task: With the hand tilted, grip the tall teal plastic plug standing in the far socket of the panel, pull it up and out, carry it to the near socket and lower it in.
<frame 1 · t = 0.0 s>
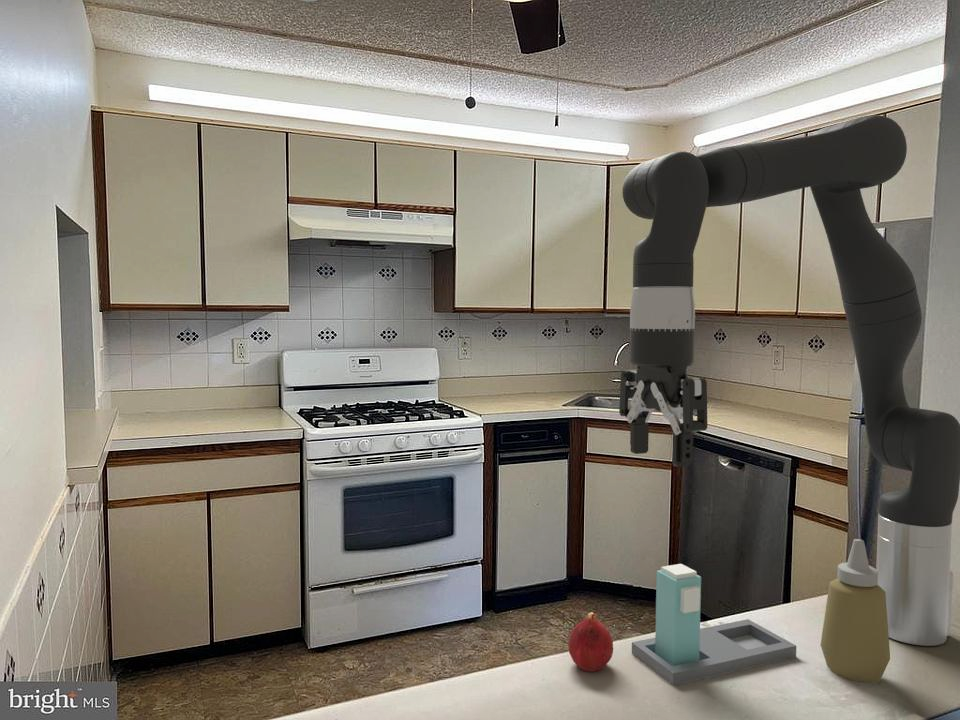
hand: (659, 459, 87), 29 cm above the worktop, tool pointing down, fingers open, 8 cm apart
plug: (676, 662, 95), point 1 cm above the worktop, touching panel
panel: (713, 661, 97), on the worktop
squeeze bottle: (853, 678, 93), on the worktop
onion: (590, 674, 94), on the worktop
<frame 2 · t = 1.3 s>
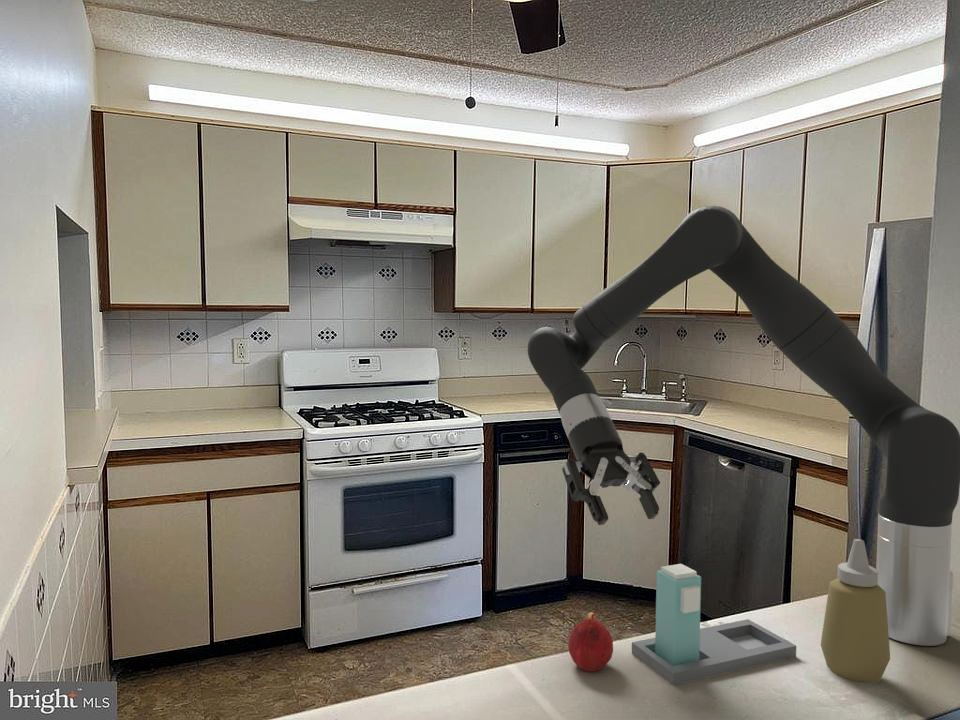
hand: (629, 519, 104), 17 cm above the worktop, tool tilted 45°, fingers open, 8 cm apart
nothing on the worktop moved.
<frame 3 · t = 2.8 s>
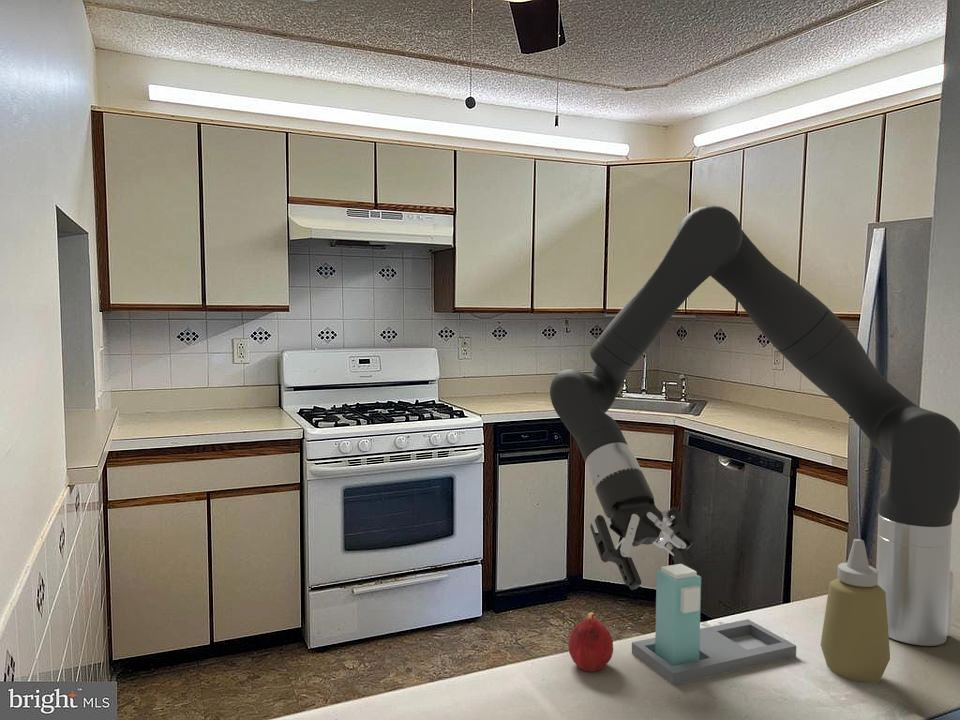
hand: (663, 582, 97), 11 cm above the worktop, tool tilted 45°, fingers open, 8 cm apart
nothing on the worktop moved.
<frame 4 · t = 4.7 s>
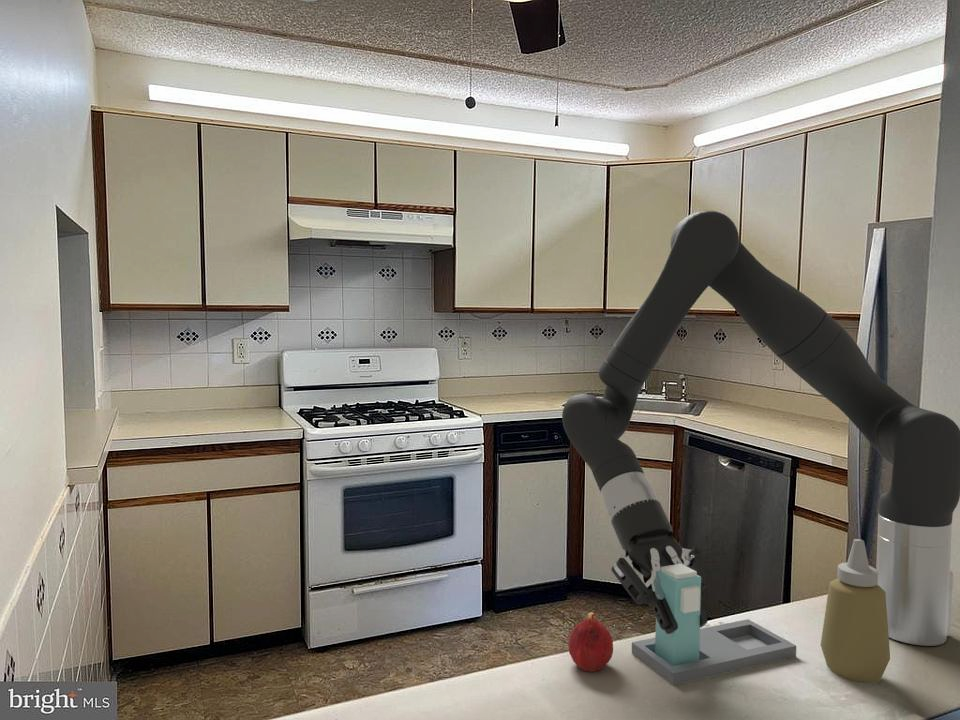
hand: (687, 627, 92), 7 cm above the worktop, tool tilted 45°, fingers closed on plug, 4 cm apart
plug: (676, 662, 95), point 1 cm above the worktop, touching gripper, panel
everything else where it was.
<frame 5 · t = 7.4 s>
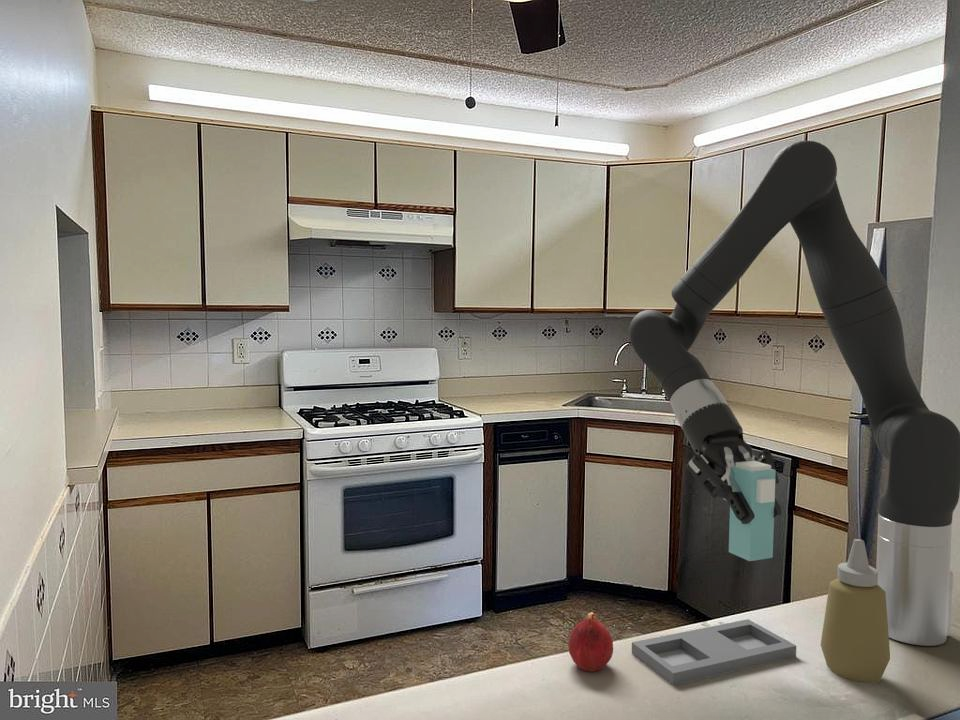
hand: (762, 518, 96), 20 cm above the worktop, tool tilted 45°, fingers closed on plug, 4 cm apart
plug: (750, 554, 98), point 14 cm above the worktop, touching gripper
everything else where it was.
when the fingers open (7 cm above the worktop, at t = 10.5 s): plug stays where it is, resting on panel.
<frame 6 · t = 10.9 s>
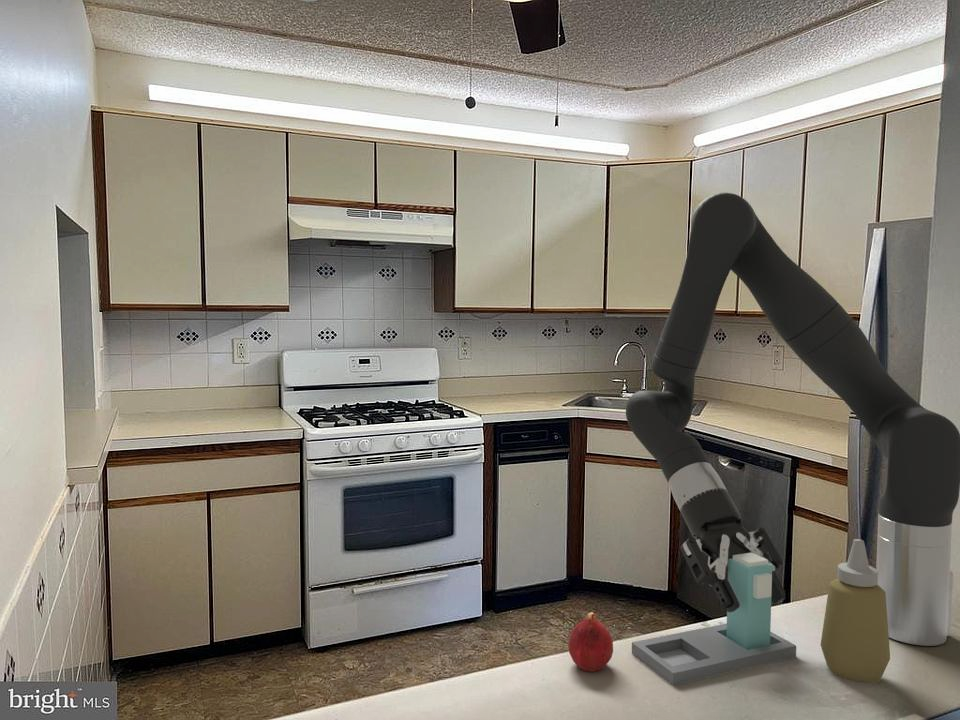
hand: (757, 605, 97), 8 cm above the worktop, tool tilted 45°, fingers open, 7 cm apart
plug: (747, 646, 99), point 1 cm above the worktop, touching panel
everything else where it was.
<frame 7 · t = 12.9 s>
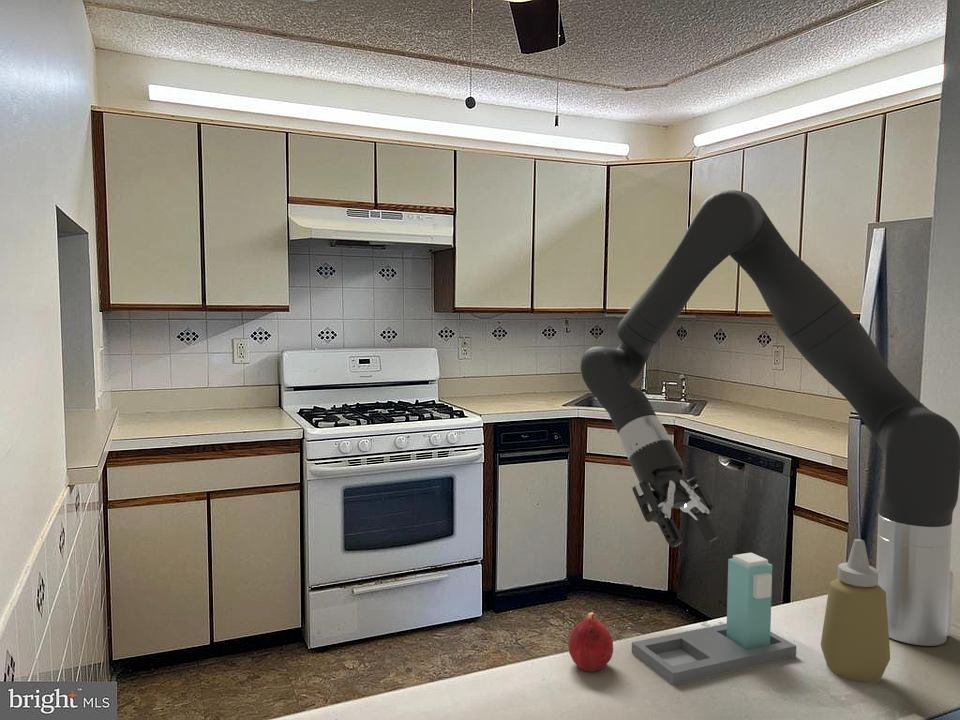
hand: (695, 542, 109), 12 cm above the worktop, tool tilted 40°, fingers open, 8 cm apart
nothing on the worktop moved.
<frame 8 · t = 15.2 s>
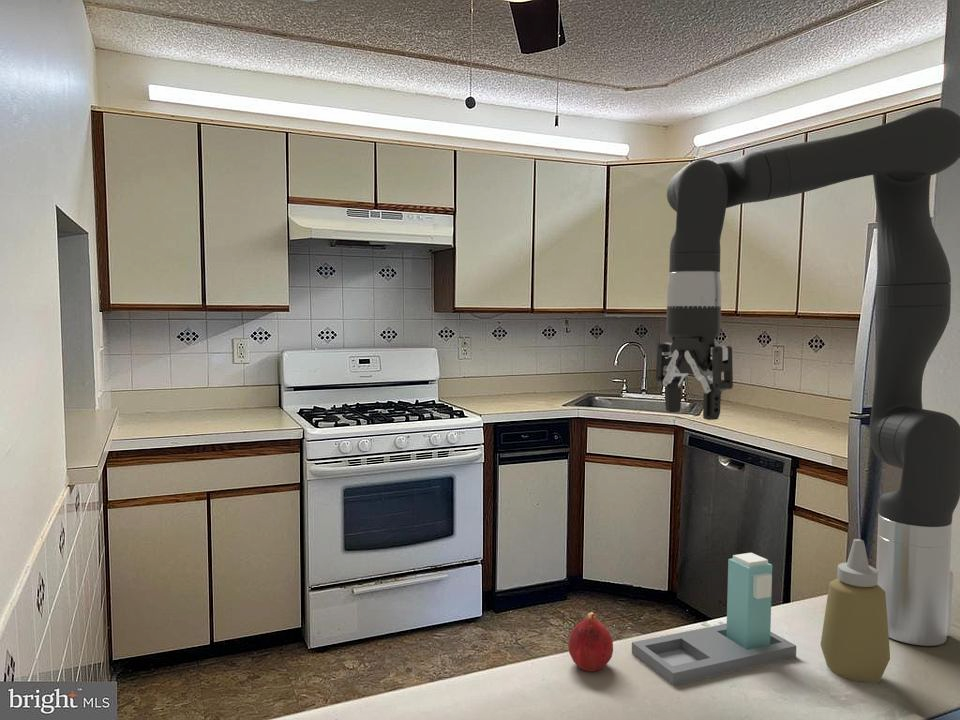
hand: (691, 415, 105), 32 cm above the worktop, tool pointing down, fingers open, 8 cm apart
nothing on the worktop moved.
at the end: plug 0.1 cm from the target spot on the panel, point 1.0 cm above the panel's base; plug tilted 0°; the gripper is holding nothing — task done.
